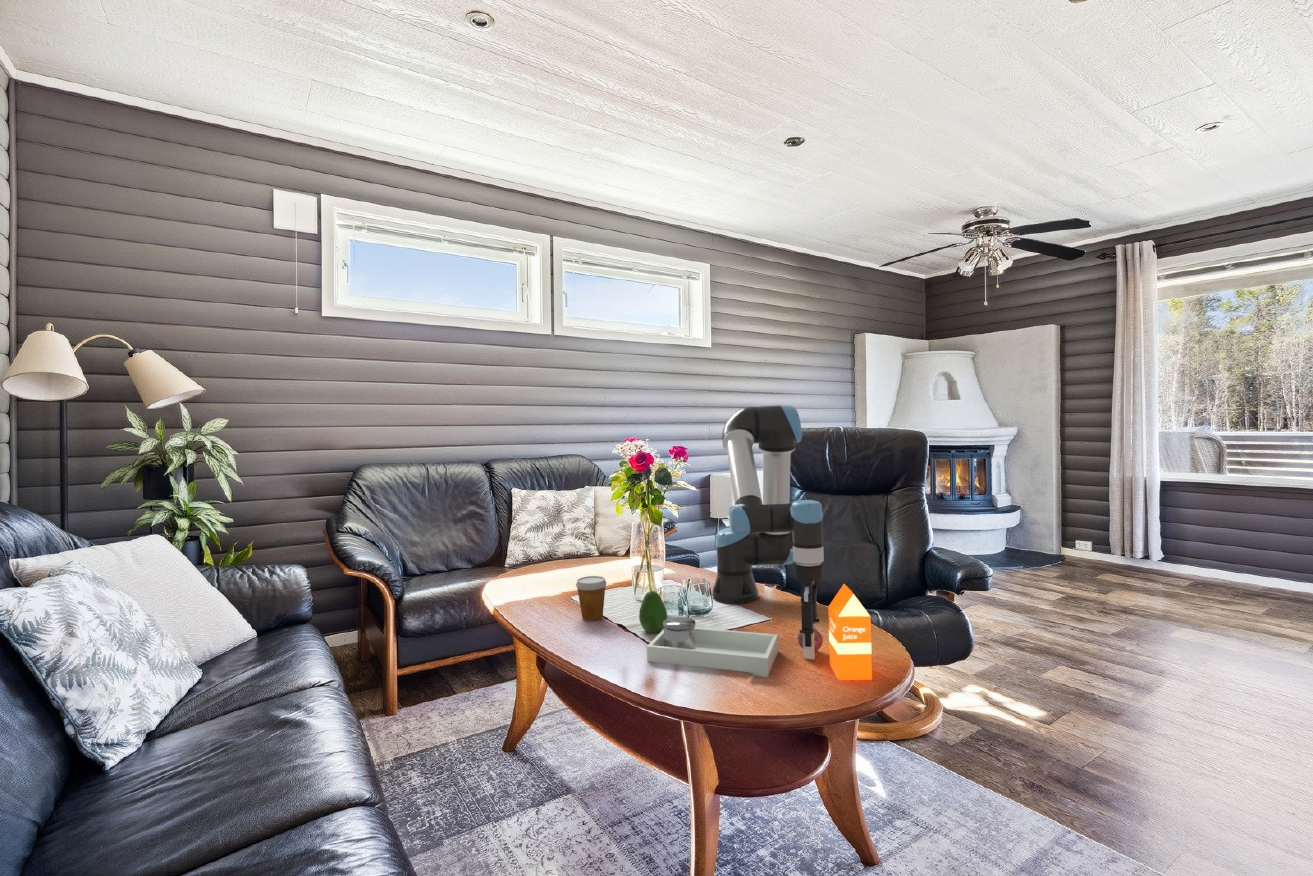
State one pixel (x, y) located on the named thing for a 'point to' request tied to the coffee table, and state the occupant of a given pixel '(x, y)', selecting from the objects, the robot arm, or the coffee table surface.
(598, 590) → the disposable coffee cup
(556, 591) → the coffee table surface
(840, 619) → the orange juice
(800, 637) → the vegetable
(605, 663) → the coffee table surface
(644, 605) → the avocado
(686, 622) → the tin
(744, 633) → the grey tray
